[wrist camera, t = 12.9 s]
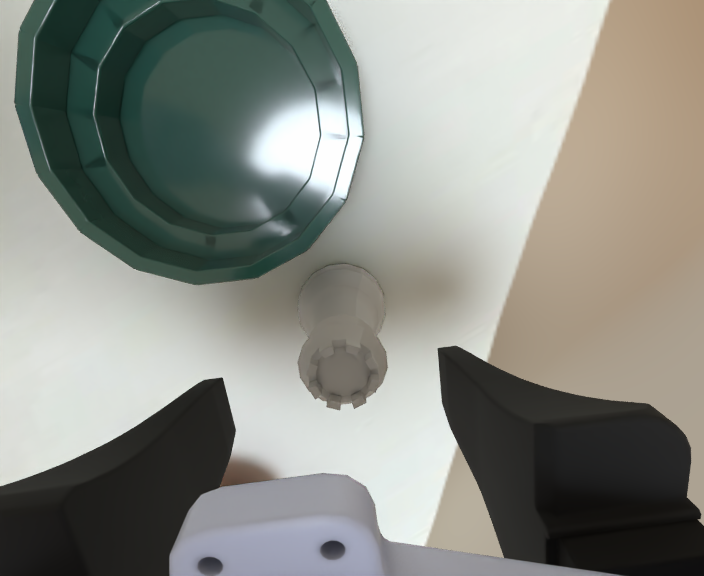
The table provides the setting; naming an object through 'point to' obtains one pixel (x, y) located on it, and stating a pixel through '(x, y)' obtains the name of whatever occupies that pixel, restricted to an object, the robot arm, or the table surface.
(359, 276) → the rook chess piece
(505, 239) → the table surface
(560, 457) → the robot arm
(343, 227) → the table surface
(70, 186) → the green faceted bowl
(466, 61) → the table surface
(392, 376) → the table surface
